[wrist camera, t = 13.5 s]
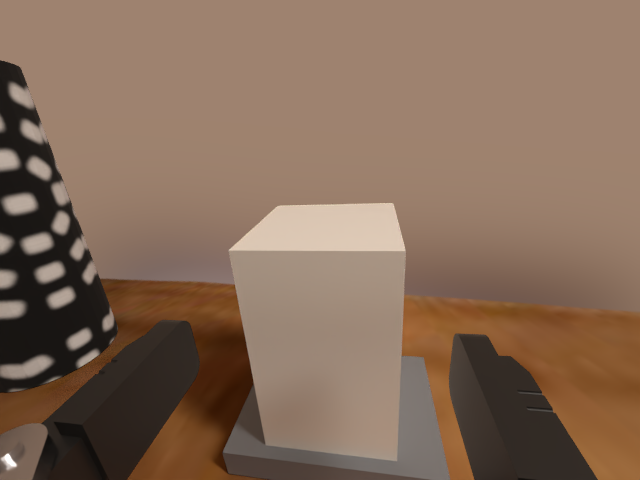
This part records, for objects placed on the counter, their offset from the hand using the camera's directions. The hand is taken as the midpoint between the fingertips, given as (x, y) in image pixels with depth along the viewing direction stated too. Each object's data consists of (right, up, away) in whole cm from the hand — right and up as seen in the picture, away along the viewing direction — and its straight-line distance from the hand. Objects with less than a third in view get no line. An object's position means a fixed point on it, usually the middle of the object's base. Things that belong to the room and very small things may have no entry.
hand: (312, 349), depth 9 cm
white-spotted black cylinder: (-21, -6, +15) cm, 26 cm away
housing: (+1, -5, +7) cm, 9 cm away
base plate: (+1, -7, +8) cm, 10 cm away
